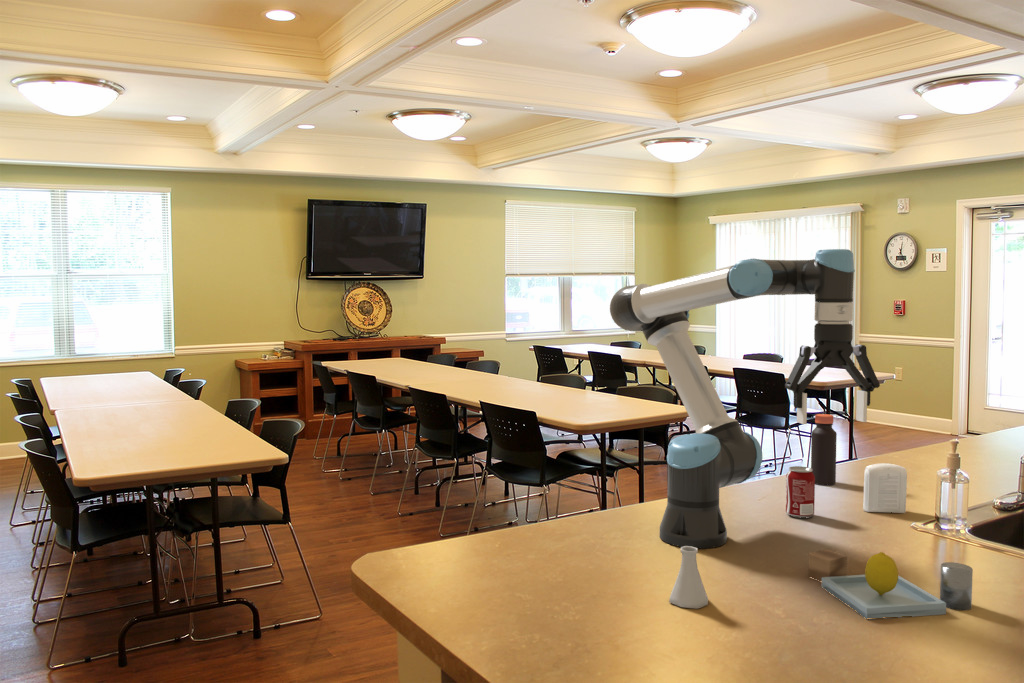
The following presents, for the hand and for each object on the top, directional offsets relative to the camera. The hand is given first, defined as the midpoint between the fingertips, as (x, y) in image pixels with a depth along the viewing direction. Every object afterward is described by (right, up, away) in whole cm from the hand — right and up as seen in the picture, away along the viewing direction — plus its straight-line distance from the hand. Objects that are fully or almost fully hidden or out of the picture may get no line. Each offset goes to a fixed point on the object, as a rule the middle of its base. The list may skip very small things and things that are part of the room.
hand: (831, 422), depth 170 cm
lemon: (0, -30, -23) cm, 38 cm away
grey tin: (+12, -31, -26) cm, 42 cm away
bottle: (+23, -24, +64) cm, 72 cm away
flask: (-36, -31, -23) cm, 53 cm away
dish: (0, -30, -23) cm, 38 cm away
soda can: (+4, -27, +31) cm, 41 cm away
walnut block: (-6, -30, -12) cm, 33 cm away
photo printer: (+27, -26, +34) cm, 51 cm away
